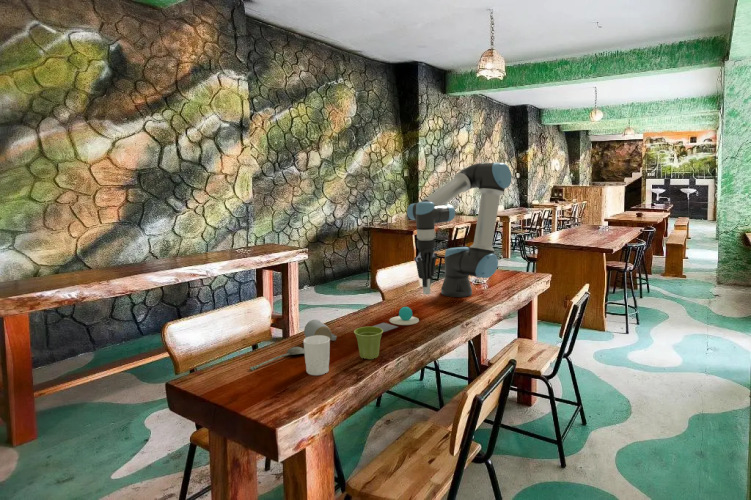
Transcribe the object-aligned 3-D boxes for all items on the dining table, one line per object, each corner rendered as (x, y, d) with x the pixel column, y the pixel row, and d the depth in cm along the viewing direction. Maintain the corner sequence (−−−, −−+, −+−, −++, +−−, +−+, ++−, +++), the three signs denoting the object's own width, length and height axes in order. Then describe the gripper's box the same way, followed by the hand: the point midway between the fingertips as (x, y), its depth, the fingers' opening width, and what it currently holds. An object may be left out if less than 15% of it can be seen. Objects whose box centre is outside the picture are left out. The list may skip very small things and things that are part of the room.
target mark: (402, 314, 202) (402, 314, 202) (425, 320, 194) (425, 319, 194) (383, 320, 193) (383, 320, 193) (405, 327, 185) (405, 326, 185)
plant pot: (362, 363, 149) (362, 337, 148) (350, 354, 158) (349, 329, 156) (388, 358, 154) (388, 332, 152) (375, 349, 162) (374, 324, 161)
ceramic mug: (314, 348, 164) (314, 326, 163) (303, 341, 170) (303, 321, 169) (341, 342, 170) (340, 321, 169) (329, 336, 176) (329, 316, 175)
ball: (401, 320, 197) (406, 308, 198) (412, 323, 193) (416, 311, 194) (394, 315, 193) (399, 303, 195) (404, 318, 189) (409, 305, 191)
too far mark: (383, 323, 191) (383, 322, 191) (398, 327, 185) (398, 326, 185) (369, 327, 185) (369, 327, 185) (384, 332, 179) (384, 331, 179)
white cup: (305, 366, 148) (304, 335, 146) (330, 365, 149) (329, 334, 147) (303, 377, 140) (302, 344, 139) (330, 375, 141) (329, 343, 139)
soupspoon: (313, 356, 160) (301, 352, 164) (313, 346, 160) (300, 342, 164) (257, 374, 144) (245, 369, 148) (256, 363, 143) (244, 359, 148)
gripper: (428, 236, 206) (429, 289, 210) (408, 240, 196) (410, 295, 201) (442, 237, 200) (443, 291, 204) (422, 241, 191) (424, 298, 195)
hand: (426, 293), depth 202 cm, fingers closed
